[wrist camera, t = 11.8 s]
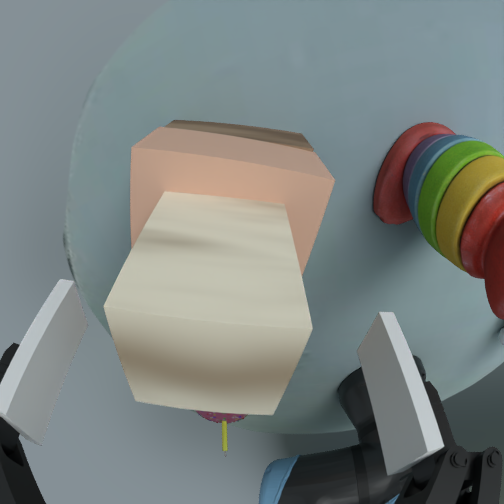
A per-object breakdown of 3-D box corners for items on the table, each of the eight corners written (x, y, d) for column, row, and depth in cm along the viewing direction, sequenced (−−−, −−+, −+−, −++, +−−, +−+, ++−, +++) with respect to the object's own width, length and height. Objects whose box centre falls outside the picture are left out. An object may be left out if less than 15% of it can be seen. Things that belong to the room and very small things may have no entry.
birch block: (265, 293, 18) (272, 415, 12) (166, 283, 18) (135, 400, 11) (284, 204, 15) (312, 329, 8) (164, 191, 14) (103, 306, 8)
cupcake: (259, 386, 42) (262, 458, 32) (208, 392, 44) (203, 461, 34) (242, 356, 38) (241, 440, 28) (184, 364, 39) (173, 442, 29)
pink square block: (278, 273, 24) (284, 320, 20) (153, 254, 23) (135, 299, 18) (315, 152, 18) (335, 180, 14) (159, 126, 17) (131, 147, 13)
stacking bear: (369, 220, 26) (459, 387, 12) (380, 112, 21) (555, 220, 6) (456, 219, 26) (555, 344, 11) (474, 128, 20) (618, 223, 6)
